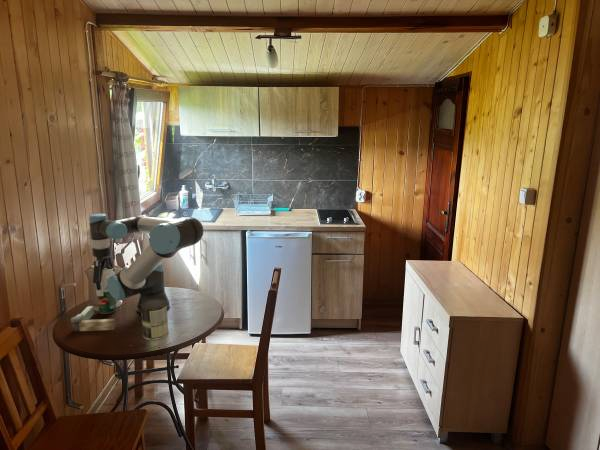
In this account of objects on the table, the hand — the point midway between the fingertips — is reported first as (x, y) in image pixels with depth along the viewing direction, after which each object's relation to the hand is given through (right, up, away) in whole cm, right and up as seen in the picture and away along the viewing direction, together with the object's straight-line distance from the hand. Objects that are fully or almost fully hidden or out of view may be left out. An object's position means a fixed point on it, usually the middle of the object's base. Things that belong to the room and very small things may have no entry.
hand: (105, 290), depth 205 cm
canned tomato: (0, -10, +2) cm, 10 cm away
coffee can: (+31, -16, -22) cm, 41 cm away
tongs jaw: (-5, -13, -11) cm, 18 cm away
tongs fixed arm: (+3, -14, -17) cm, 23 cm away
